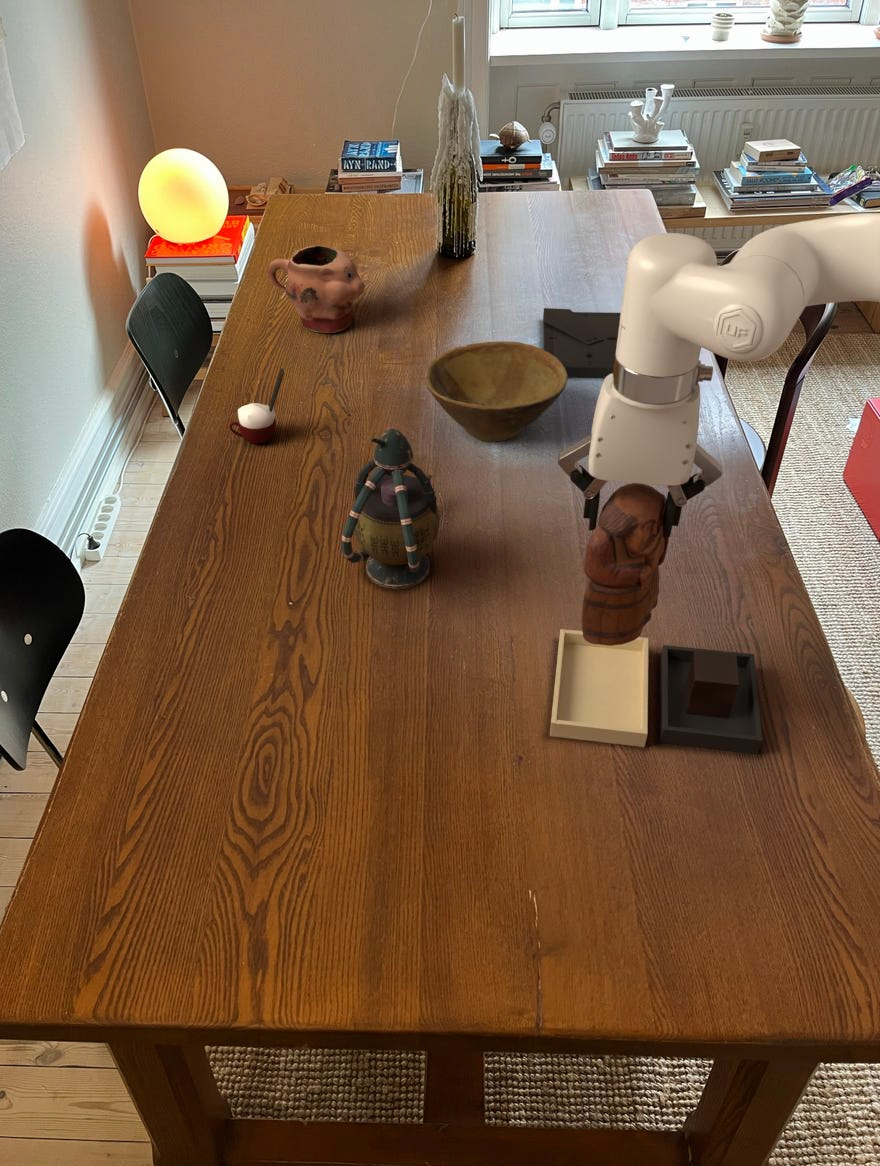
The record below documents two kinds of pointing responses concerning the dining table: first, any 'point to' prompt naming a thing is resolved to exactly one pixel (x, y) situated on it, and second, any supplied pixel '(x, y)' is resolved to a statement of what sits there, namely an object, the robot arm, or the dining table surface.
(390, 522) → the green octopus jar
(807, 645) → the dining table surface
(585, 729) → the pale tray
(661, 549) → the wooden figurine
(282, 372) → the cocoa
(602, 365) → the dark brown flat slab
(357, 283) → the sculpted clay mug
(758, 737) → the dark tray
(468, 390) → the bowl
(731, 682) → the walnut block
